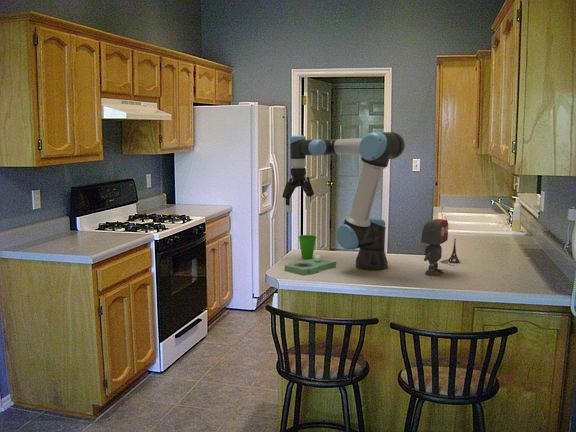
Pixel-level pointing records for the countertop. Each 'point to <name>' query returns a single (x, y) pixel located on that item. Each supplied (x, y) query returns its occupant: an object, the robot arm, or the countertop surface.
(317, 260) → the ball
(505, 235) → the countertop surface
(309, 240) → the cup
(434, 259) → the toy robot
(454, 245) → the eiffel tower figurine
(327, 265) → the green flat slab
